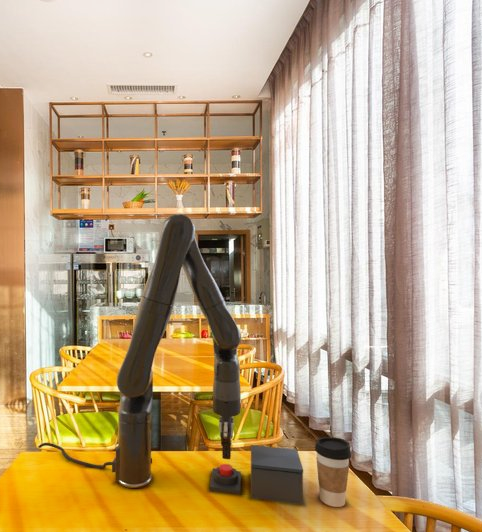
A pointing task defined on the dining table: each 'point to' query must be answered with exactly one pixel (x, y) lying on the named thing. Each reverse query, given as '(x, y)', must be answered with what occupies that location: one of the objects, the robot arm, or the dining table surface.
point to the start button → (226, 470)
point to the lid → (275, 459)
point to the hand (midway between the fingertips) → (226, 457)
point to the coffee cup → (332, 469)
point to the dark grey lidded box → (277, 485)
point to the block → (226, 482)
